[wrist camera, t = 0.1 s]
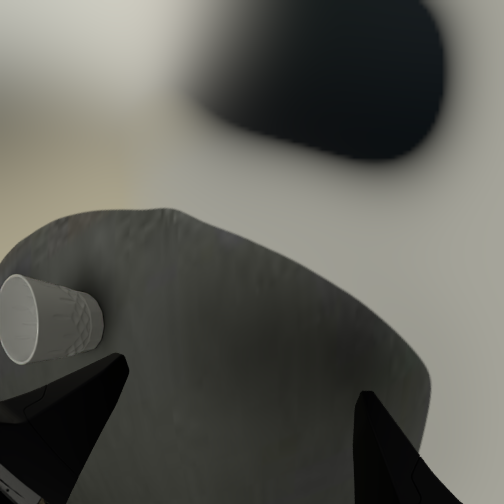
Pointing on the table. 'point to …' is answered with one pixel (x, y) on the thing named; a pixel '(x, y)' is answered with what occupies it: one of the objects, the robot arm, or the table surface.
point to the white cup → (46, 320)
